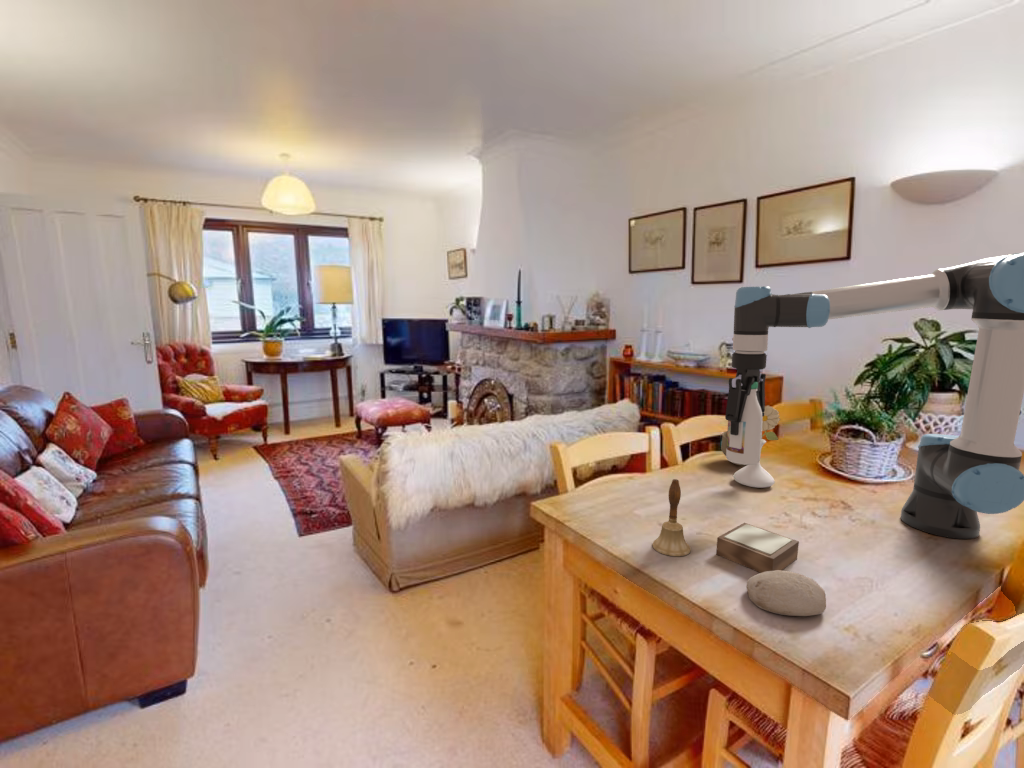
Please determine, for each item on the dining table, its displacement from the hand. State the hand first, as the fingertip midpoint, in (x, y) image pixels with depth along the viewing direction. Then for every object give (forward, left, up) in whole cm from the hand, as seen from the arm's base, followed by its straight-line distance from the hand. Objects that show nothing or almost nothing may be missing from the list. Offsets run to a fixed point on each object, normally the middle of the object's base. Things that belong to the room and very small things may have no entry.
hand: (743, 444), depth 126 cm
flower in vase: (+9, -29, -20) cm, 36 cm away
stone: (-23, +27, -21) cm, 41 cm away
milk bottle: (0, 0, -4) cm, 4 cm away
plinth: (-12, +14, -20) cm, 27 cm away
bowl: (+22, -45, -20) cm, 54 cm away
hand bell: (+2, +25, -20) cm, 32 cm away
